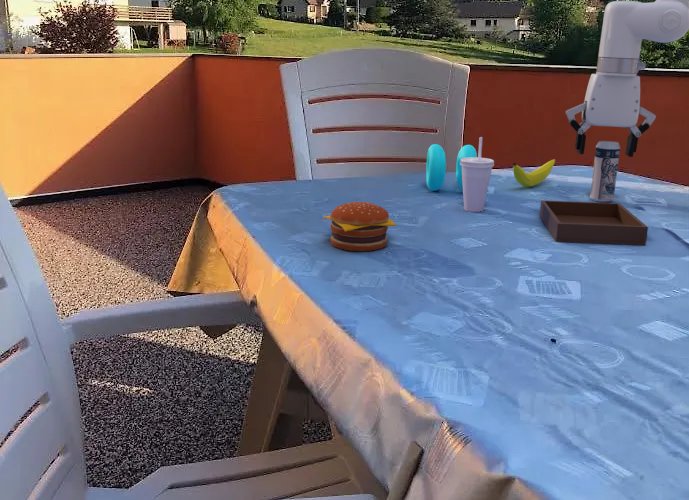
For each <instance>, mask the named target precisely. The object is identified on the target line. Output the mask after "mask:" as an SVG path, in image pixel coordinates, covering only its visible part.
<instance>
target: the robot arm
mask: <svg viewBox="0 0 689 500" xmlns="http://www.w3.org/2000/svg"><path fill="white" fill-rule="evenodd" d="M602 20H603V21H602V27H601V33H600V42H599V49H598V57H597V63H596V70H595V73H591V75H590V78H589V80H588V82H587V83H588V84H587V88H586V92H585V96H584V101H583V103H580V104H578V105H576V106H574V107H571V108H569V109H567V110H565V111H564V112H565V116H566V118H567V121H568V124H569V126H571V128H572V129H573V130H574V132H575V133H576V135H575V142H574V143H575V145H574V150H576V153H577V154H579V155H584V153H585V148H586V142H587V141H586V140H587V134H586V131H588V129H590V128H591V127H592V126H597V127H615V128H616V127H617V128H627V130H628V131H629V134H628V136H627V138H626V146H625V151H624V153H625V156H627V157H629V158H633V157H634V153H637V148H638V141H639V138H640V137H641V136H642V135H643V134H644V133H645V132H647V130H649V129H650V127H651V125H652V124H653V123H654V121H655V120H656V118H657V116H656V115H655V114H654V113H652V112H651V111H649V110H648V109H646V108H644V107H643V106H641V104H640V103H641V76H639V75H638V73H639V71H644V70H646V66H647V64H646V62H642V61H641V59H640V55H641V48H642V42H643V40H647V41H648V40H649V41H651V42H655V43H661V44H665V43H666V44H667V43H672V42H676V41H678V40H680V39H681V38H683V37H684V36H685V35H686V34H687V32H688V31H689V0H655V1H653V2H652V1H651V2H642V1H637V0H615V1H614V0H613V1H610V2H609V3H607V5H605V8H604V12H603V19H602ZM579 113H581V120H582V121H581V122H580V123H578V121H577V119H576V117H575V116H576V115H578V114H579ZM639 115H641V116H643V117H644V120H643V122H642V123H640V124H639V125H638V126H637V123H638V120H639Z"/></svg>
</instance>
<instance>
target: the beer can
mask: <svg viewBox="0 0 689 500" xmlns="http://www.w3.org/2000/svg"><path fill="white" fill-rule="evenodd" d="M594 151H595V153H594V161H593V167H592V168H593V169H592V176H591V177H592V178H591V185H590V195H589V198H590V200H592V201H594V202H598V203H611V202H613V201H614V200H615V191H616V184H617V176H618V168H619V159H620V151H621V146H620V143H619V141H612V140H599V141H598V142H597V143H596V145H595V150H594Z"/></svg>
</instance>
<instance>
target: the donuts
mask: <svg viewBox="0 0 689 500" xmlns="http://www.w3.org/2000/svg"><path fill="white" fill-rule="evenodd" d="M468 157H478V153H477V149H476V148H475V147H474V146H473V145H472V144H465V145H463V146H462V147H461V148H460V150H459V151H458V154H457V158H456V163H455V164H456V165H455V166H456V167H455V177H456V184H457V186H458V188H459V189H460V190H461V191H463V182H462V165H460V160H461V159H462V158H468ZM446 163H447V160H446V153H445V150H444V148H443V147H442V146H441V144H437V143H434V144H431V145H430V146H429V147H428V149H427V154H426V165H425V166H426V167H425V169H426V170H425V179H426V180H425V181H426V182H425V183H426V186H427V188H428V189H429V190H430V191H432V192H436V191H439V190H440V189H441V188H442V186H443V185H444V183H445V178H446V170H447V169H446V167H447V164H446Z"/></svg>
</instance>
